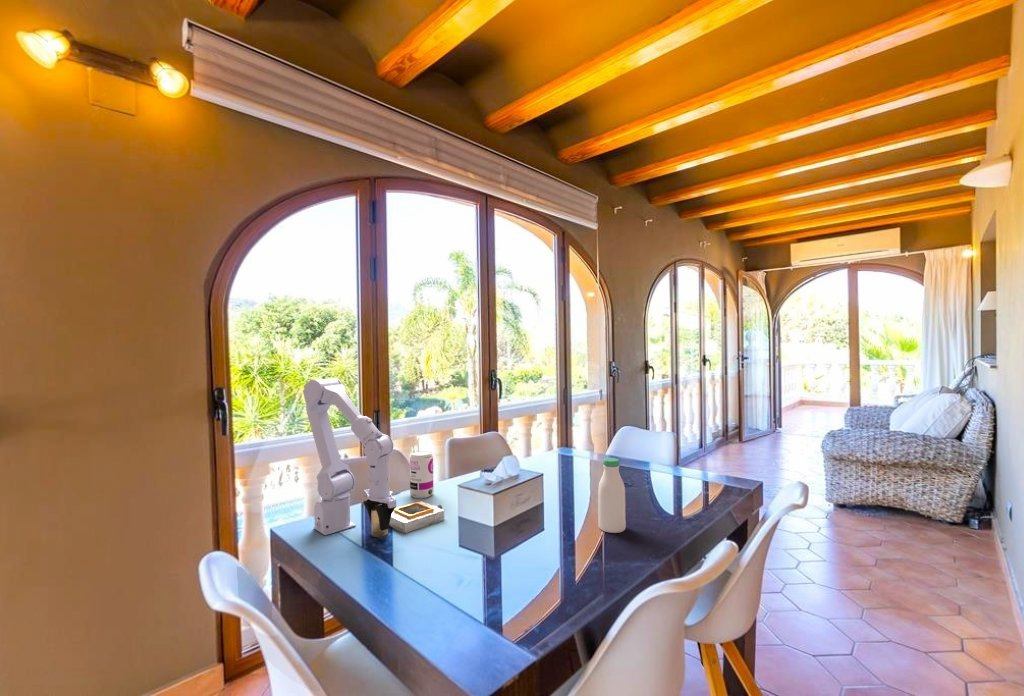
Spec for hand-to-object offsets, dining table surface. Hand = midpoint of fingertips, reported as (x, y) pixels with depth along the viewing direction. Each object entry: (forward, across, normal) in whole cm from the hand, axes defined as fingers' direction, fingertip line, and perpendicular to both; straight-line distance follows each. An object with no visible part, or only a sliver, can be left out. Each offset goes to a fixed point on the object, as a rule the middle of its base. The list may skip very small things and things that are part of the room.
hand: (379, 527), depth 132 cm
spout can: (+2, 0, 0) cm, 2 cm away
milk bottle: (+2, -46, -48) cm, 67 cm away
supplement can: (+2, +20, -28) cm, 34 cm away
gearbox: (+2, +1, -14) cm, 14 cm away
